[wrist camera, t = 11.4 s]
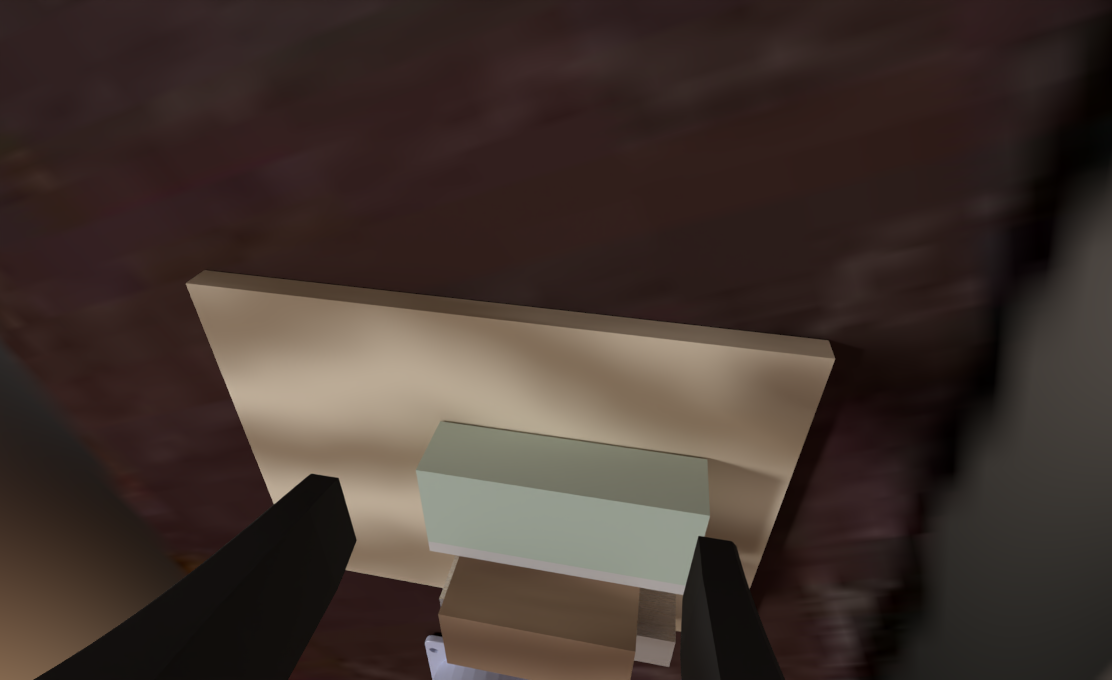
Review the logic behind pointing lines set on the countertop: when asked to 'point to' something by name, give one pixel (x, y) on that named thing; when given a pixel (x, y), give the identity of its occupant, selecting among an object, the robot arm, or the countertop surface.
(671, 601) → the block
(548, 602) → the block
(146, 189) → the countertop surface
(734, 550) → the robot arm
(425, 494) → the block
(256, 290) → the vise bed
